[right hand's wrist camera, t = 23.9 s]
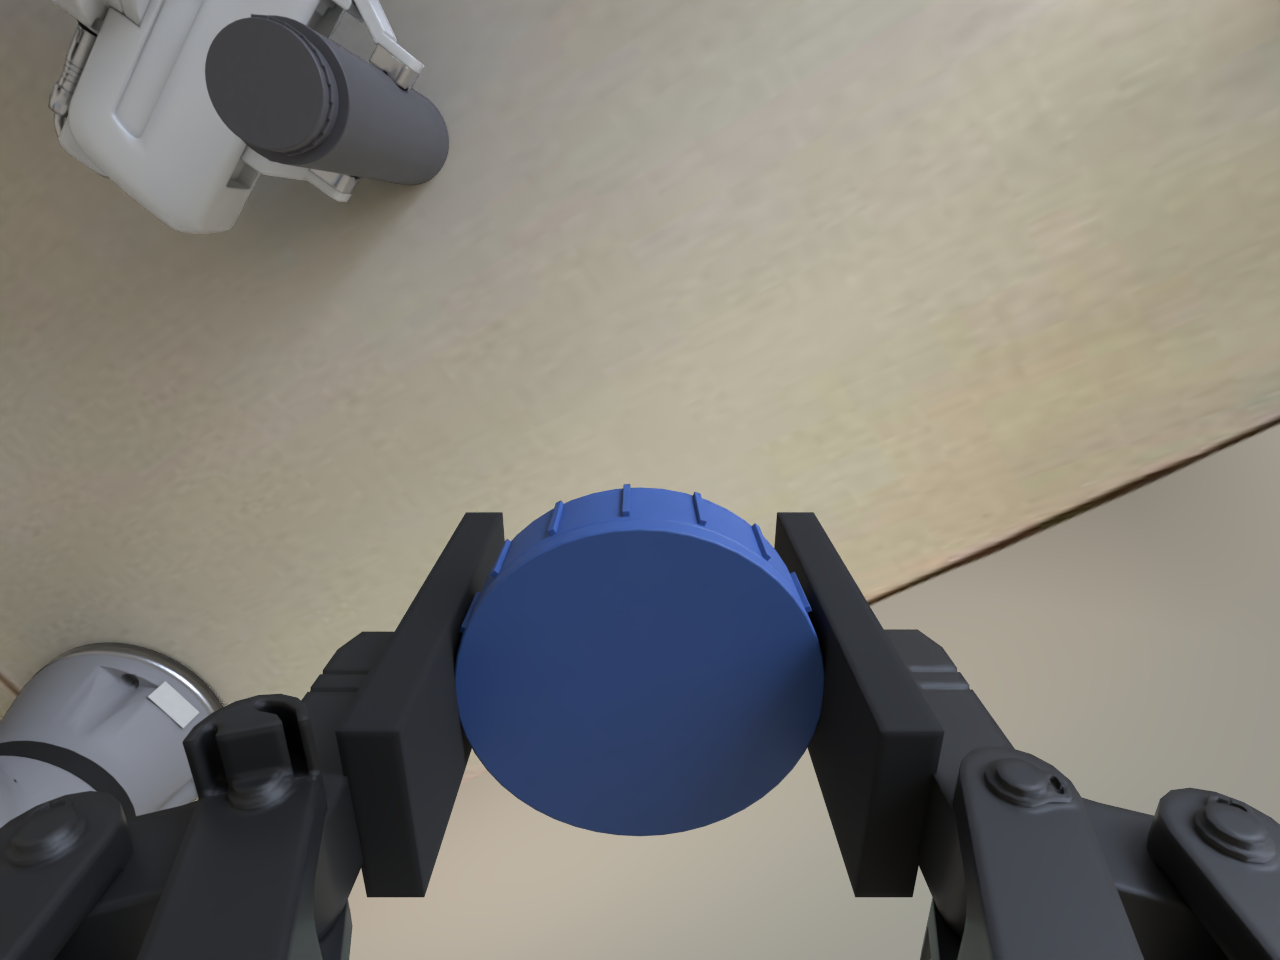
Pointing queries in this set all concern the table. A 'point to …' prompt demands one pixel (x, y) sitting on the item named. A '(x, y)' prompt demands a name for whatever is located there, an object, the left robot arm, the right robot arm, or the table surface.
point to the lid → (639, 664)
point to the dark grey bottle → (320, 104)
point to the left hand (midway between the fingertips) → (381, 134)
